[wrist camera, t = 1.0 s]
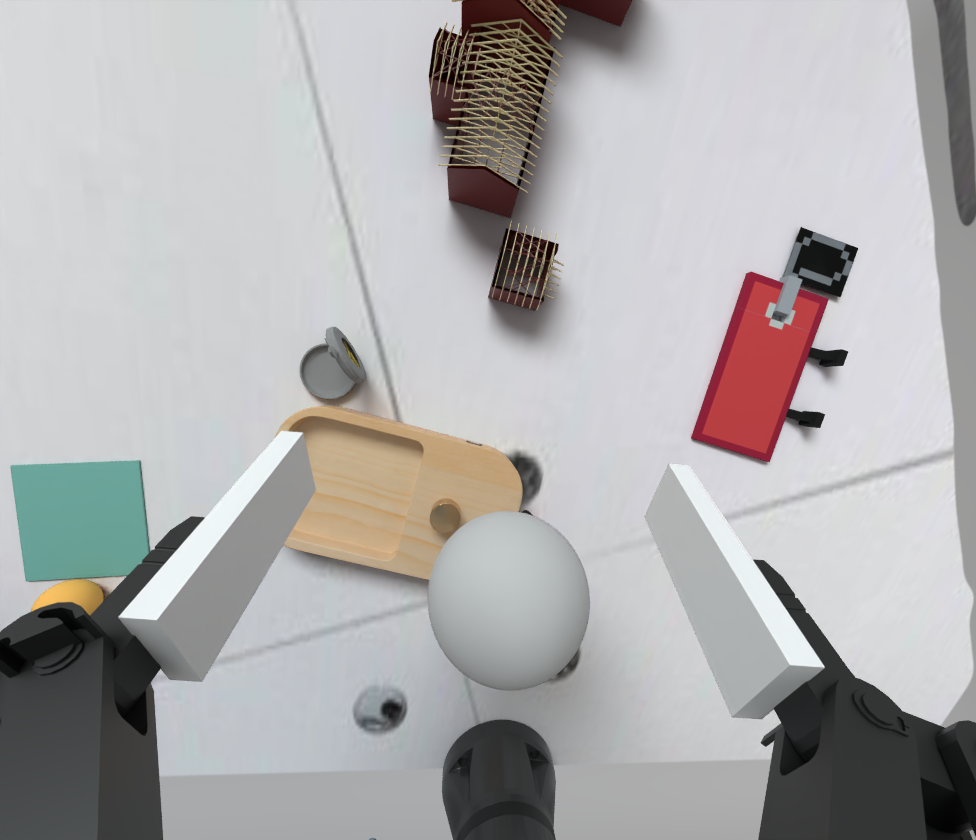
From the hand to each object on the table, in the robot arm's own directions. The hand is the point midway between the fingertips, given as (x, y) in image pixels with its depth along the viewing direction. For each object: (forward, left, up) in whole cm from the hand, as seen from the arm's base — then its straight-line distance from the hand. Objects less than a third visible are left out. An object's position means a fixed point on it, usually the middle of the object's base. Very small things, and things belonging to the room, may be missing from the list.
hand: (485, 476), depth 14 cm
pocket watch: (+6, +15, -34) cm, 37 cm away
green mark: (-11, +46, -33) cm, 58 cm away
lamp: (-10, +7, -34) cm, 36 cm away
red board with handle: (+8, -42, -34) cm, 54 cm away
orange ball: (-20, +46, -31) cm, 59 cm away
